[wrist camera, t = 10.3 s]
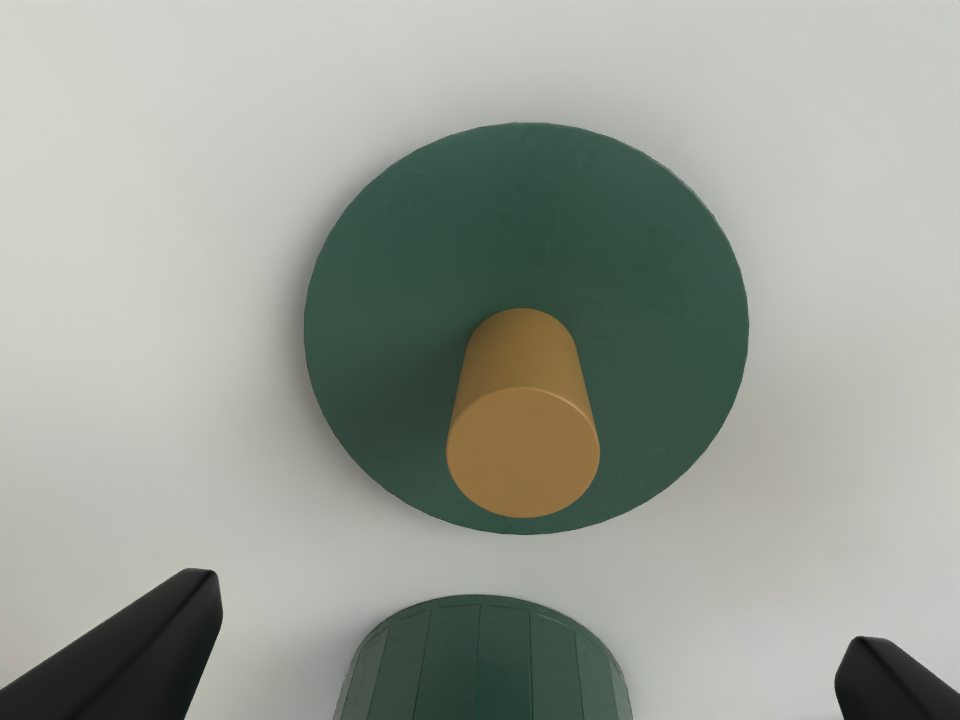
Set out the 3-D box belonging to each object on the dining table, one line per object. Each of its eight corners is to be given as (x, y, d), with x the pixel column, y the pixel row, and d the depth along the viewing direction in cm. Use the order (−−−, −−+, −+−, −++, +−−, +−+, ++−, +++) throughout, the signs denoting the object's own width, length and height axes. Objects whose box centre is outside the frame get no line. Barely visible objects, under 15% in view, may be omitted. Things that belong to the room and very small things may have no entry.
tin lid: (729, 74, 14) (868, 54, 9) (738, 488, 19) (830, 648, 14) (259, 171, 16) (118, 207, 10) (376, 530, 21) (323, 688, 15)
